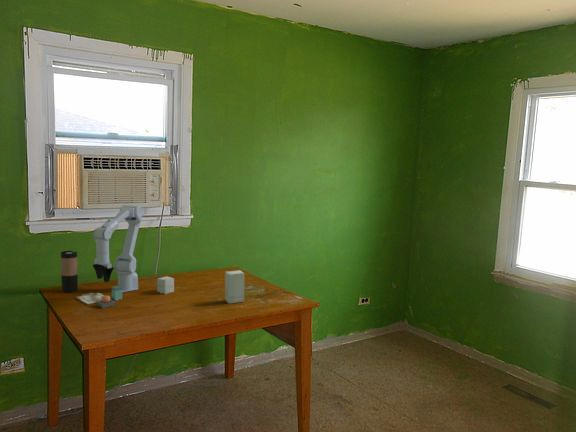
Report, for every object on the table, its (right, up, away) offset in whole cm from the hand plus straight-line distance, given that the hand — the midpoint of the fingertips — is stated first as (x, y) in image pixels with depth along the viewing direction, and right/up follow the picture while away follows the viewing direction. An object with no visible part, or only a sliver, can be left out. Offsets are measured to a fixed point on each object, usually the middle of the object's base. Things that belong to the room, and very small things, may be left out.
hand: (103, 280), depth 234 cm
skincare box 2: (+63, -11, +5) cm, 64 cm away
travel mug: (-22, -7, +14) cm, 27 cm away
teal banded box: (+6, -10, +2) cm, 11 cm away
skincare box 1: (+26, -9, +17) cm, 32 cm away
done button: (+4, -10, -8) cm, 13 cm away
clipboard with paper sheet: (-5, -9, +1) cm, 11 cm away
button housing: (+4, -11, -8) cm, 14 cm away
